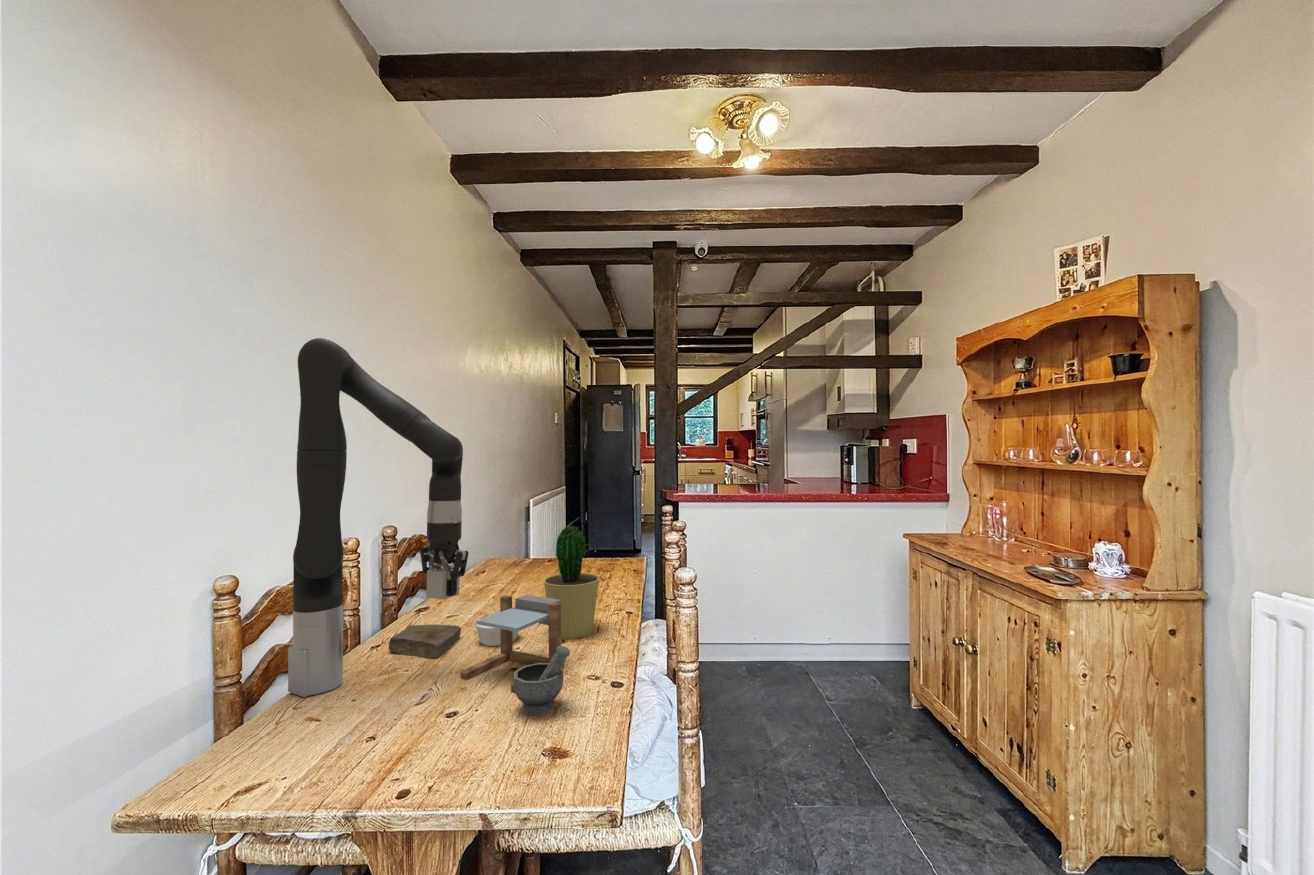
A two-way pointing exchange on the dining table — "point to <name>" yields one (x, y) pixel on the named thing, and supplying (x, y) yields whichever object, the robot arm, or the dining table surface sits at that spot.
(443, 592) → the grey block
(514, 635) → the ramekin
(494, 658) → the frame
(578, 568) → the potted cactus
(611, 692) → the dining table surface
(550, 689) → the mortar and pestle
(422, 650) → the dark stone slab
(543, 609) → the trapdoor
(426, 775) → the dining table surface
